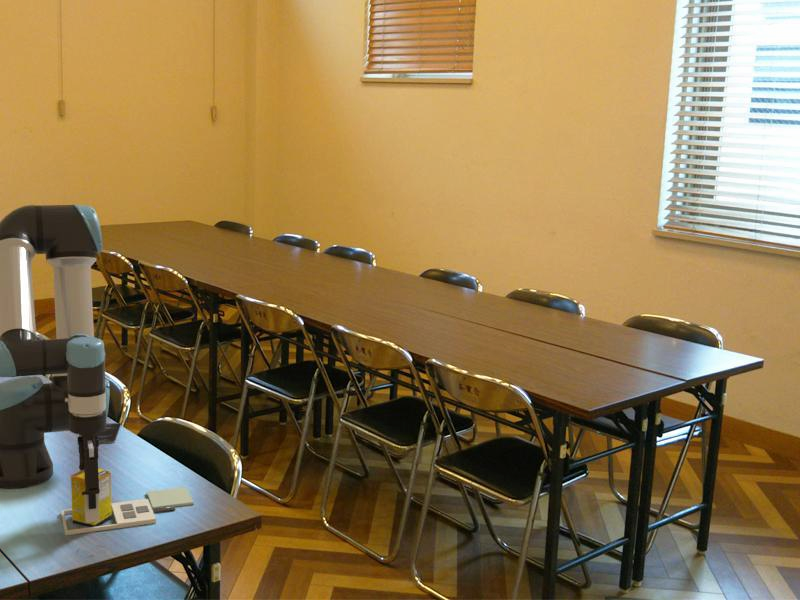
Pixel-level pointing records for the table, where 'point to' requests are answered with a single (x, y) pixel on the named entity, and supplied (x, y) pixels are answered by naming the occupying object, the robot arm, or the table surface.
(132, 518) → the white rectangular frame panel
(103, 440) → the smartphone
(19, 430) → the robot arm
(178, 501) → the mat
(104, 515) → the supplement box
